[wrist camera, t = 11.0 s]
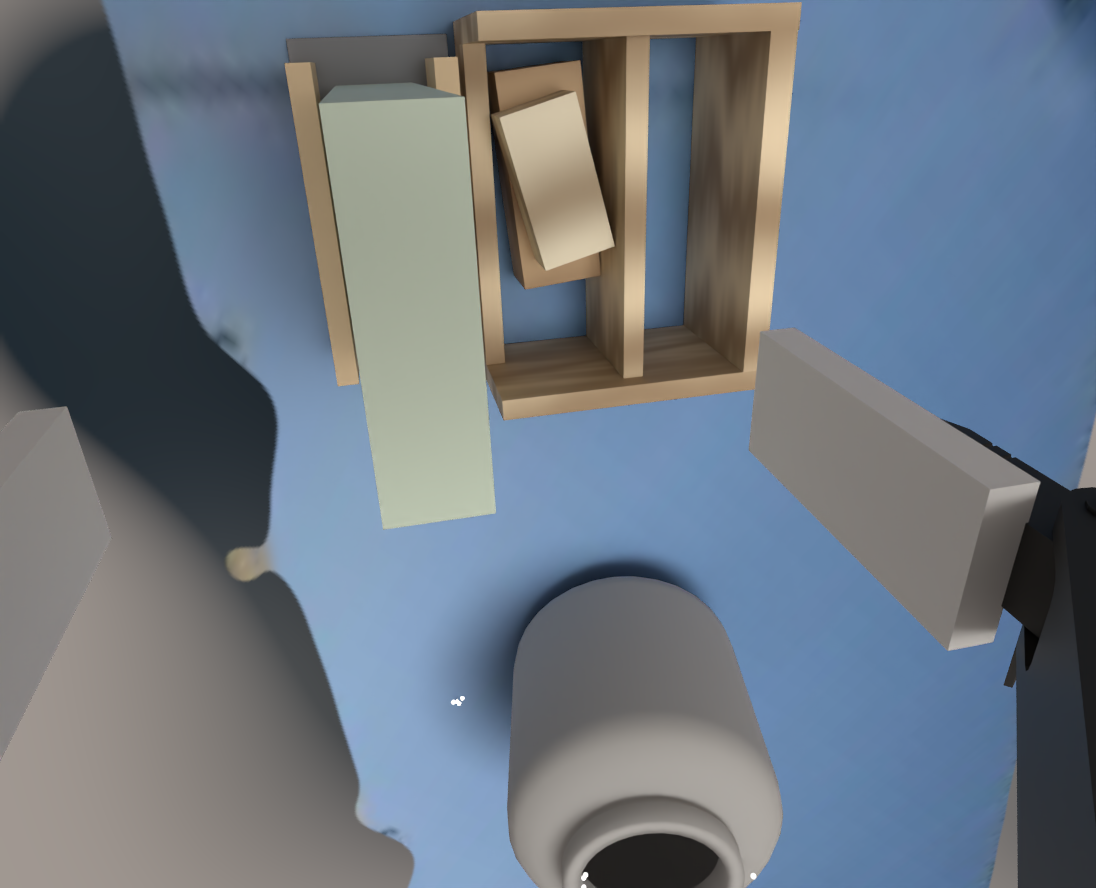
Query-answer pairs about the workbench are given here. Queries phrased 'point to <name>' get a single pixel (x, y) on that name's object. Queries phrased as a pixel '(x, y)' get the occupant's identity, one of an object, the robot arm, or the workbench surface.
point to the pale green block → (413, 295)
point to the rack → (621, 166)
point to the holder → (309, 82)
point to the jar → (636, 745)
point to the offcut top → (554, 178)
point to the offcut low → (504, 94)
